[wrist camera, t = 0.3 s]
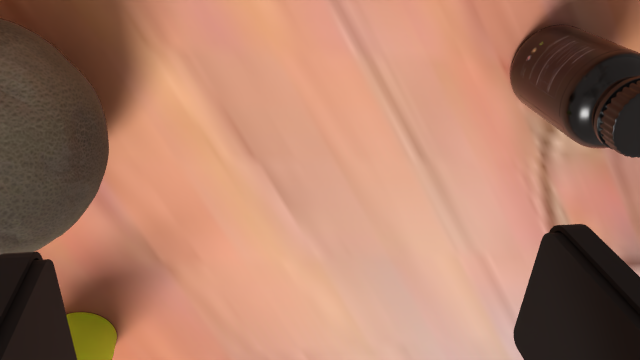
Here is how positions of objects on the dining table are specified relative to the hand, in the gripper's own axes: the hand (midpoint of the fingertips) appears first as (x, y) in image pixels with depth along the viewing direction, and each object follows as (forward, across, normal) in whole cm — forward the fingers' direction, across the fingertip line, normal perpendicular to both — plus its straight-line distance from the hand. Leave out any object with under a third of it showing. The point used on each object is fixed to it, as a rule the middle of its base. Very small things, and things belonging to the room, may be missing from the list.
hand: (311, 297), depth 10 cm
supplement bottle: (+31, -24, +5) cm, 39 cm away
